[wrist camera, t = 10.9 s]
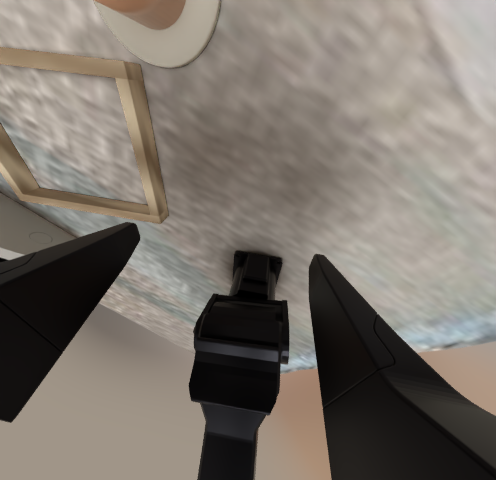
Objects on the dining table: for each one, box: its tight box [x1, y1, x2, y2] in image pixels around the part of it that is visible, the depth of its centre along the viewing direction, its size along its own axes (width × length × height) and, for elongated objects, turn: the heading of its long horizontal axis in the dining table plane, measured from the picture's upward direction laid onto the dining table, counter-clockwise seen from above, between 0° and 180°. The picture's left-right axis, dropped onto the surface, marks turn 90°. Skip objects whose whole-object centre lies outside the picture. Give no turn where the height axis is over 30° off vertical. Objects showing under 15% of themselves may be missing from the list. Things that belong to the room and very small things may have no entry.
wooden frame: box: [0, 47, 169, 224], centre depth 19 cm, size 14×18×2 cm
